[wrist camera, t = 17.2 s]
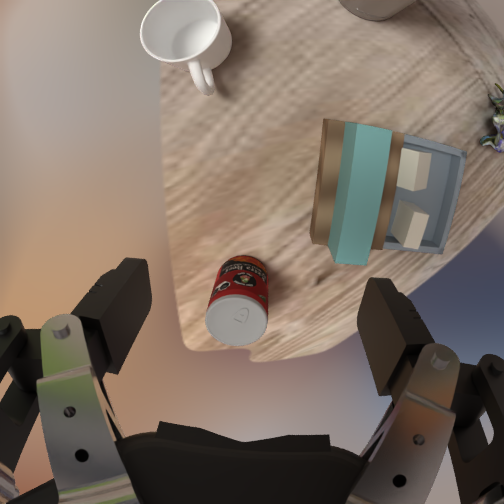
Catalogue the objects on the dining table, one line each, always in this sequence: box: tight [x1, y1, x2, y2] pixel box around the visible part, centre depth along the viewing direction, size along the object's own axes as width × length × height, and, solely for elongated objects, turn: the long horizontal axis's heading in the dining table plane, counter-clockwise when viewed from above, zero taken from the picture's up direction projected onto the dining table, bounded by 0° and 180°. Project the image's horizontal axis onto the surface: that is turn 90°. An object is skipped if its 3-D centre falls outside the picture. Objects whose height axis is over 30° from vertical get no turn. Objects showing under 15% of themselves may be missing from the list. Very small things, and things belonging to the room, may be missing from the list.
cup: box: [140, 0, 232, 96], centre depth 27 cm, size 8×12×10 cm
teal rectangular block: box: [328, 122, 392, 265], centre depth 33 cm, size 16×4×5 cm, turn 176°
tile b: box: [391, 200, 429, 249], centre depth 37 cm, size 5×5×2 cm
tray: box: [383, 134, 467, 254], centre depth 37 cm, size 16×11×3 cm
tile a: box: [397, 148, 432, 191], centre depth 33 cm, size 5×5×2 cm
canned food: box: [205, 256, 268, 346], centre depth 41 cm, size 8×8×11 cm
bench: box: [310, 119, 405, 250], centre depth 36 cm, size 16×10×4 cm, turn 176°
